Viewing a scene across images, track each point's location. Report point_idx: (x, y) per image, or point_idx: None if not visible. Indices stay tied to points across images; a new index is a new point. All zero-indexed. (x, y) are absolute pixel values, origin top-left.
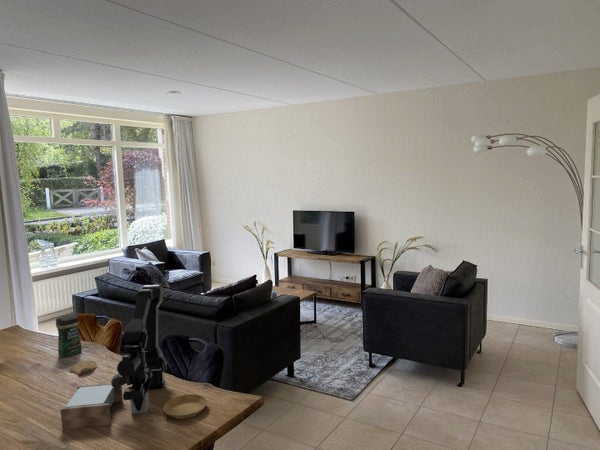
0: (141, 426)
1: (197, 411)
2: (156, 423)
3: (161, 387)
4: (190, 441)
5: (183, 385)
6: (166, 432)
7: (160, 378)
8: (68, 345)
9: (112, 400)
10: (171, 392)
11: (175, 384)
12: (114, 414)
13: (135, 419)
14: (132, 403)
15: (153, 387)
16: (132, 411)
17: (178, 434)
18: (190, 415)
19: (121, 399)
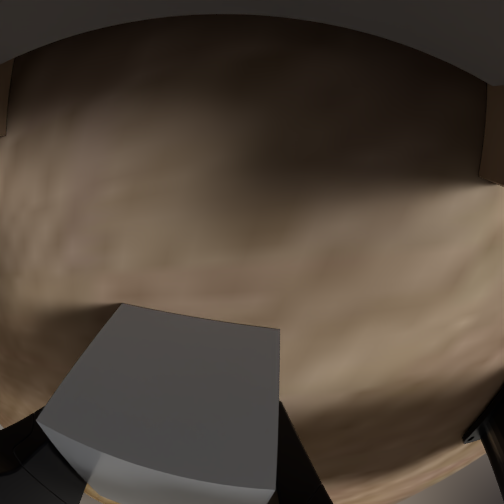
0: (4, 344)
1: (98, 500)
2: (41, 402)
3: (464, 440)
4: (4, 425)
5: (413, 485)
6: (8, 404)
7: (498, 467)
8: None
9: (378, 15)
10: (379, 475)
11: (450, 463)
12: (143, 106)
13: (48, 326)
14: (68, 397)
15: (498, 407)
16: (111, 326)
17: (14, 422)
18: (87, 484)
19: (493, 174)
